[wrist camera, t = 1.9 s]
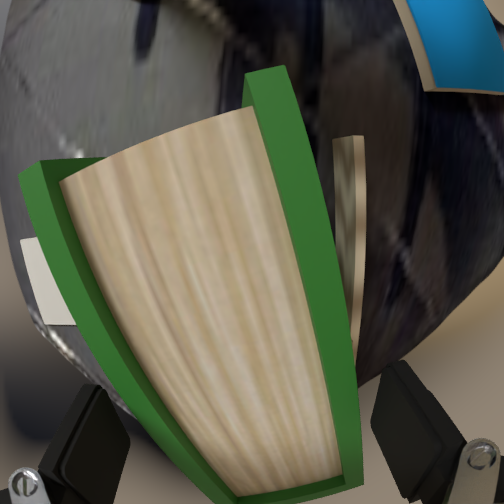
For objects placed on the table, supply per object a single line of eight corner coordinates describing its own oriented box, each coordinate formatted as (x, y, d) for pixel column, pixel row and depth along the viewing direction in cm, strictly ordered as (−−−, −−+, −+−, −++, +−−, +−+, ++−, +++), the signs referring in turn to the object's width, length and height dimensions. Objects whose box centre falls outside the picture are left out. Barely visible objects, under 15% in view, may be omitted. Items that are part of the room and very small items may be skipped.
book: (439, 89, 24) (366, -75, 16) (419, 93, 28) (356, -60, 20) (518, 94, 24) (459, -49, 16) (499, 95, 28) (445, -40, 20)
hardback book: (177, 161, 29) (17, 175, 6) (247, 138, 29) (284, 65, 6) (229, 312, 34) (226, 513, 11) (292, 294, 34) (363, 484, 11)
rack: (121, 159, 28) (92, 160, 22) (341, 139, 29) (368, 135, 22) (171, 393, 38) (163, 430, 31) (335, 379, 38) (350, 414, 32)
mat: (22, 239, 30) (20, 240, 30) (109, 226, 30) (108, 227, 30) (46, 322, 34) (44, 324, 33) (131, 322, 34) (130, 324, 34)
